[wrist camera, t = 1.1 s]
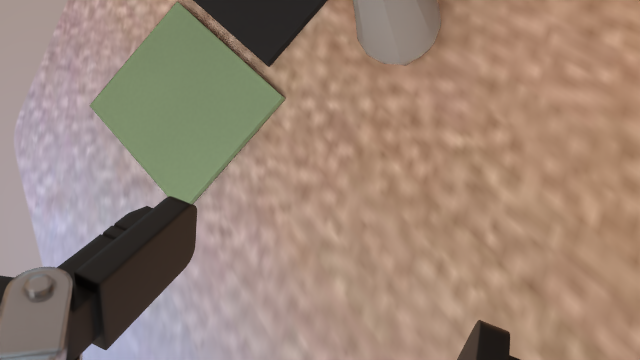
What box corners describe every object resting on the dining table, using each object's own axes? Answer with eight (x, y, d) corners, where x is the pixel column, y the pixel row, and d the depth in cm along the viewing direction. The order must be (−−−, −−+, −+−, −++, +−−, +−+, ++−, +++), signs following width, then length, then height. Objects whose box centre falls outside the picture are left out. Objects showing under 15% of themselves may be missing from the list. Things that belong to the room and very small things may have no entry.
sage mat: (181, 4, 43) (177, 1, 42) (285, 99, 38) (282, 96, 37) (94, 107, 44) (89, 105, 43) (185, 213, 39) (181, 212, 38)
